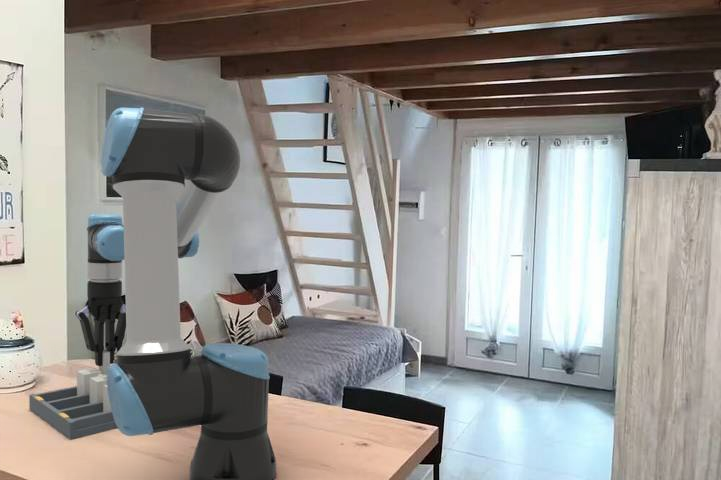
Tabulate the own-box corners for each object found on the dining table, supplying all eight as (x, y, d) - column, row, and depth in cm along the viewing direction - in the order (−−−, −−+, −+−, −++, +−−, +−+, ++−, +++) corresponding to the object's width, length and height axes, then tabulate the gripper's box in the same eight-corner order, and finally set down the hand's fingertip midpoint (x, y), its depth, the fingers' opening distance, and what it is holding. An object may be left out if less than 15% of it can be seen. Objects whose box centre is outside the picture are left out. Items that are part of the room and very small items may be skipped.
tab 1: (129, 412, 134) (129, 383, 134) (111, 417, 131) (111, 386, 131) (120, 407, 137) (121, 378, 136) (103, 412, 134) (103, 382, 134)
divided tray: (141, 421, 134) (141, 405, 133) (70, 439, 123) (70, 421, 123) (95, 395, 149) (95, 380, 149) (29, 409, 139) (29, 393, 138)
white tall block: (114, 404, 139) (115, 375, 139) (97, 408, 136) (97, 379, 136) (107, 400, 142) (107, 372, 141) (89, 403, 139) (89, 375, 138)
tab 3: (101, 396, 144) (101, 369, 143) (84, 400, 141) (84, 372, 140) (94, 392, 147) (94, 365, 146) (77, 396, 144) (77, 368, 143)
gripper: (124, 276, 152) (123, 369, 153) (69, 280, 142) (69, 379, 144) (138, 279, 147) (137, 376, 148) (83, 283, 137) (82, 387, 139)
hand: (104, 378), depth 146 cm, fingers closed
